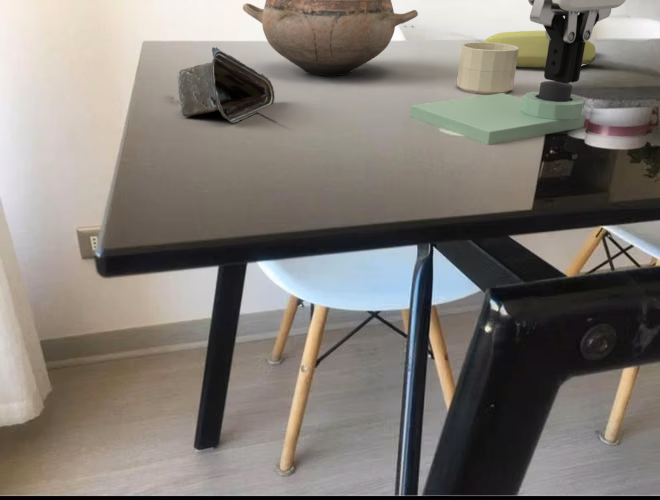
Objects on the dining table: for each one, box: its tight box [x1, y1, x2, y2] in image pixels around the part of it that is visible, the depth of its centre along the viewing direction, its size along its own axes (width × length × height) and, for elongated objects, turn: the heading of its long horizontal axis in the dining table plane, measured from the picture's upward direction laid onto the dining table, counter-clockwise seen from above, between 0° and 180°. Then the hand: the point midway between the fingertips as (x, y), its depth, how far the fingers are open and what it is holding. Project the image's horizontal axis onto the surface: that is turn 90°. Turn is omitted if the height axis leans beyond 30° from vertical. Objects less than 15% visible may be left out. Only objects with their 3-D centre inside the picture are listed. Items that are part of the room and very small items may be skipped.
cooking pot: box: [242, 0, 419, 77], centre depth 90 cm, size 25×19×12 cm
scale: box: [409, 91, 587, 146], centre depth 67 cm, size 15×12×3 cm
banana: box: [483, 30, 596, 68], centre depth 102 cm, size 14×6×20 cm
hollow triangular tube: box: [177, 46, 276, 123], centre depth 69 cm, size 10×7×12 cm
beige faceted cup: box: [456, 41, 519, 95], centre depth 82 cm, size 7×7×6 cm
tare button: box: [538, 80, 573, 102], centre depth 66 cm, size 3×3×2 cm
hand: (560, 80), depth 66 cm, fingers closed
